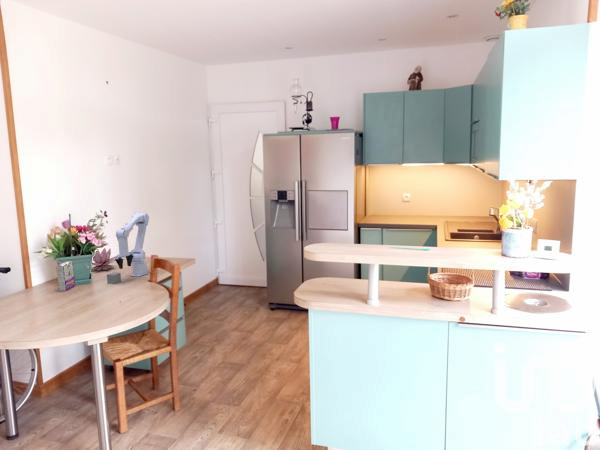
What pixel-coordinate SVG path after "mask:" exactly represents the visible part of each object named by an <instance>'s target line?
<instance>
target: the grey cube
mask: <svg viewBox="0 0 600 450" xmlns="http://www.w3.org/2000/svg"><path fill="white" fill-rule="evenodd" d="M106 283H107V284H110V285H116V284H119V283H122V275H121V272H114V271H113V272H110V273H107V274H106Z"/></svg>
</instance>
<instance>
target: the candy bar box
mask: <svg viewBox="0 0 600 450" xmlns="http://www.w3.org/2000/svg"><path fill="white" fill-rule="evenodd" d="M55 270H56V276H57V284H58V291H59V292H67V291H68V290H71V289H72V288H74V287H76V281H75V273H74V264H73V261H64V262H62V263H60V264H57V265H55Z"/></svg>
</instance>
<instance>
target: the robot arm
mask: <svg viewBox="0 0 600 450" xmlns="http://www.w3.org/2000/svg"><path fill="white" fill-rule="evenodd" d="M149 221H150V216H149V214H148V213H147V212H143V213H141V212H140V213H139V212H138V213H137V212H134V213H133V214H132V215H131V219H130V220H129V222H126V223H124V225H123V226H122V227H121V228H120V229H118V230H116V232H115V237H116V239H117V242H118V252H119V253H118V254H117V255H114V257H115V261H114V262H116V264H117V266H118V268H119V269H120V270H123V269H124V258H126V259H125V260H126V263H127V264H126V265H127V267H132V268H131V269H132V274H130V275H129V276H130V277H139V278H140V277H143V276H145V275H148V274H149V272H148V268H147V266H148V265H147V262H145V260H146V252H145V251H144V250H143V247H144V242H145V238H146V237H145V236H146V231H147V226H148V225H149ZM134 226H136V227H137V228H138V229H137V234H136V238H135V242H134V243H135V244H134V248H133V249H132V250H130V251H129V241H128V238H129V236H130V234H131V232H132V230H133V229H134Z"/></svg>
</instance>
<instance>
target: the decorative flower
mask: <svg viewBox="0 0 600 450" xmlns="http://www.w3.org/2000/svg"><path fill="white" fill-rule="evenodd" d="M95 251H96V250H95ZM111 253H112V251H111V248H109V249H108V251H107V250H106V248H105V247H104V248H103V249H102V251H101V252H99V250H98V251H96V252H94V257H93V260H92V261H93V262H92V265H91V266H93V267H92V268H91V271H93V270H95V269H96V272H97V271H98V272H101V271H102V270H103V271H105V270H109V268H110V269H113V268H114V265H113V264H112V263H114V262H116V261H115V256H113V257H111Z"/></svg>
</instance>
